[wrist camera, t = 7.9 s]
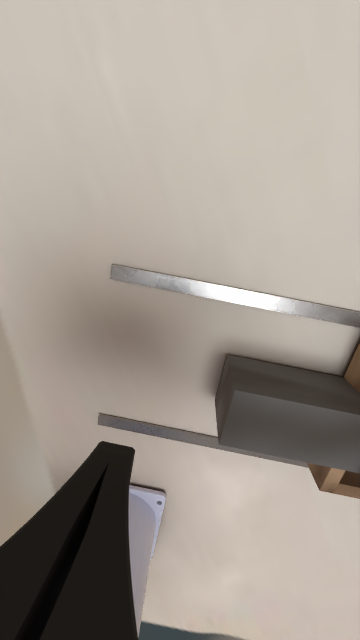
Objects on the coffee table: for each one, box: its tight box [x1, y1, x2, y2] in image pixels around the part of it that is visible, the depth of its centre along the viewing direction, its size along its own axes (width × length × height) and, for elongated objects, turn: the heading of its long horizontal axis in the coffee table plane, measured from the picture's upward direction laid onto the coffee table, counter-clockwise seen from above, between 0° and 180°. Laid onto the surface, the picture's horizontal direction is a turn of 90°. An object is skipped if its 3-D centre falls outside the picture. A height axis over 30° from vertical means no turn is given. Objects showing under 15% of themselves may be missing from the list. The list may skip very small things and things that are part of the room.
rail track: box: [98, 264, 360, 468], centre depth 18 cm, size 14×35×1 cm, turn 80°
